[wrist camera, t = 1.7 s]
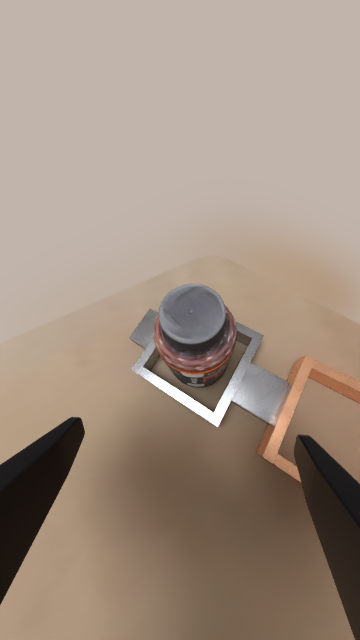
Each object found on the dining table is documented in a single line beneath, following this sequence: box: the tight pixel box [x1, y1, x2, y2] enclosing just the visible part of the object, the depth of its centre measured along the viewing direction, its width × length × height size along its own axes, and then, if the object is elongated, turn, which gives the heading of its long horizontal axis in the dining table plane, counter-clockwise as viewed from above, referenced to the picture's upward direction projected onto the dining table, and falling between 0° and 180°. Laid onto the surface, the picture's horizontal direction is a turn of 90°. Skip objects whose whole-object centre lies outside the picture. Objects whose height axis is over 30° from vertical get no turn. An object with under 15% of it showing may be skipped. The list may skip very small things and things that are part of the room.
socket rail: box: [129, 309, 360, 482], centre depth 19 cm, size 28×9×2 cm, turn 58°
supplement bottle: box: [153, 284, 237, 387], centre depth 18 cm, size 6×6×11 cm
